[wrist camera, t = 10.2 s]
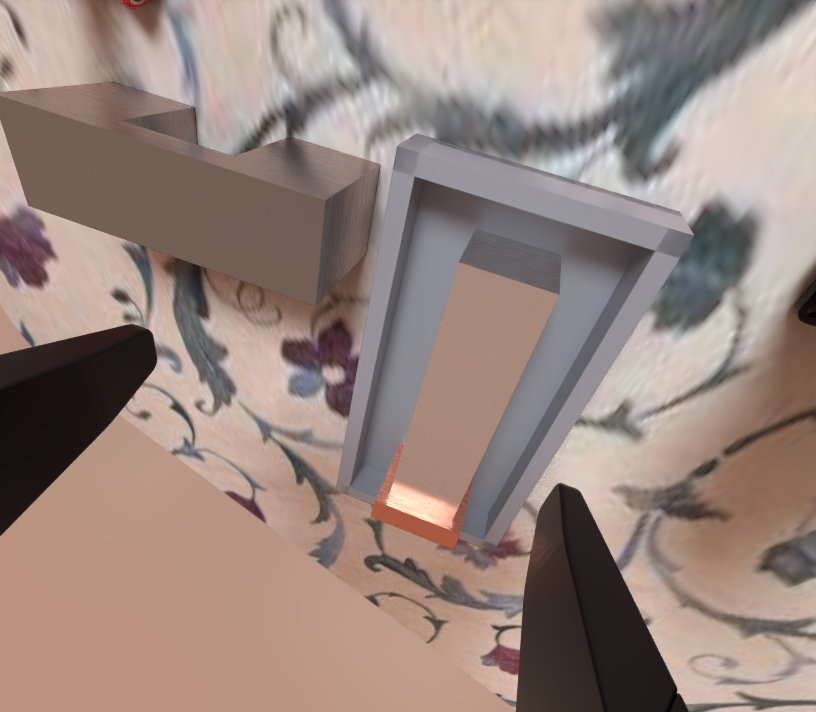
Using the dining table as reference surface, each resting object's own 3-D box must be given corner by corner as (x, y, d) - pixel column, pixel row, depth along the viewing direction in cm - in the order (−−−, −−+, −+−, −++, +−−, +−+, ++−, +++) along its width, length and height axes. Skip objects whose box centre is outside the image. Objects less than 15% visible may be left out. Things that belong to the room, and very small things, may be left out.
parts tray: (679, 211, 16) (694, 235, 14) (498, 516, 28) (492, 552, 26) (417, 133, 17) (397, 145, 15) (351, 460, 29) (335, 490, 27)
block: (380, 164, 18) (325, 200, 14) (366, 253, 21) (315, 306, 17) (112, 82, 20) (-9, 93, 15) (128, 174, 22) (28, 205, 18)
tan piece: (462, 224, 18) (438, 265, 15) (575, 259, 18) (576, 310, 14) (395, 458, 27) (370, 516, 24) (467, 486, 27) (453, 549, 23)
